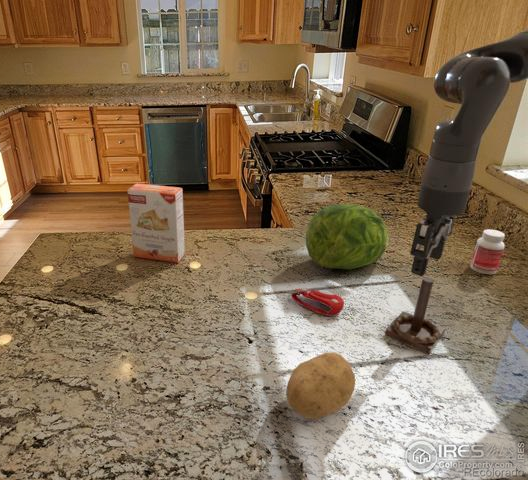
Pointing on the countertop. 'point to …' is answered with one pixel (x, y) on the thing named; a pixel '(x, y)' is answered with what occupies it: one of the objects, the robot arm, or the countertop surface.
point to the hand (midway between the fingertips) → (426, 265)
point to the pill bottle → (488, 252)
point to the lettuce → (346, 236)
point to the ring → (411, 338)
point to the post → (418, 321)
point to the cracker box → (157, 222)
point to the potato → (320, 386)
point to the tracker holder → (319, 300)
